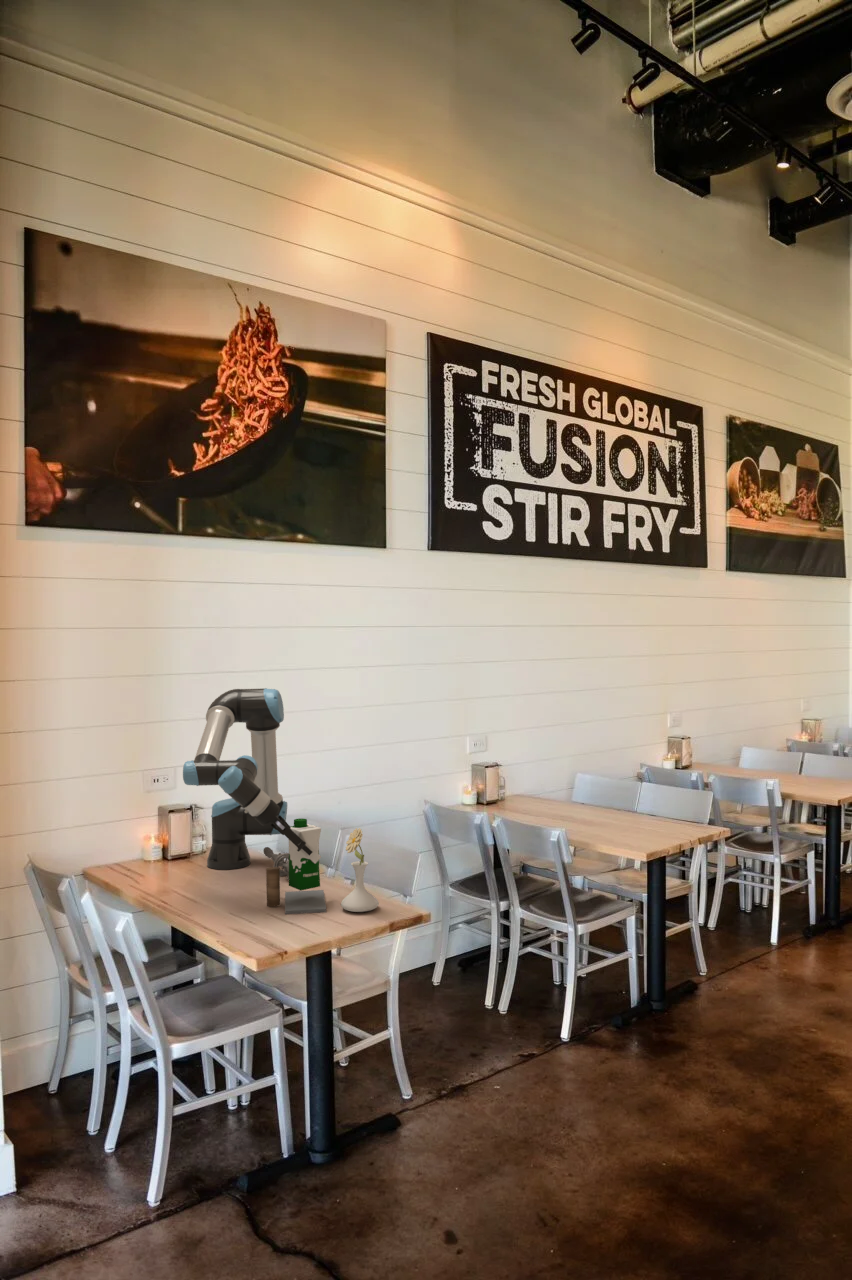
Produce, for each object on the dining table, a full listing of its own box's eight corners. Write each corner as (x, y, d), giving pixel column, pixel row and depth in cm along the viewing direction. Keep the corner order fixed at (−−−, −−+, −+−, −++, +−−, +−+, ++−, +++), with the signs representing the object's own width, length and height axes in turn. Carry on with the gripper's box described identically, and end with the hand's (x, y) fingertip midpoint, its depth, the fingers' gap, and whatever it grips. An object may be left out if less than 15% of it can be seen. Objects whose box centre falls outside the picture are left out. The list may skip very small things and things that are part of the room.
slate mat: (285, 894, 284) (285, 891, 284) (323, 892, 286) (323, 889, 286) (285, 914, 264) (285, 910, 264) (326, 912, 266) (326, 908, 266)
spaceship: (277, 841, 324) (258, 835, 320) (320, 872, 295) (300, 866, 291) (268, 862, 323) (249, 857, 319) (311, 895, 294) (291, 890, 290)
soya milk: (308, 880, 281) (308, 816, 281) (324, 886, 274) (324, 821, 274) (284, 885, 275) (284, 820, 275) (299, 892, 268) (299, 825, 268)
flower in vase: (341, 904, 274) (340, 822, 274) (378, 903, 275) (378, 821, 275) (340, 917, 261) (339, 831, 261) (379, 916, 262) (378, 830, 262)
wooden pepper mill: (266, 903, 275) (265, 867, 275) (279, 902, 276) (279, 866, 276) (267, 907, 271) (266, 871, 271) (280, 906, 272) (279, 870, 272)
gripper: (248, 810, 280) (299, 857, 285) (258, 824, 259) (313, 874, 264) (265, 792, 282) (315, 839, 287) (277, 805, 261) (331, 855, 266)
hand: (314, 856), depth 276 cm, fingers closed on soya milk, 9 cm apart
